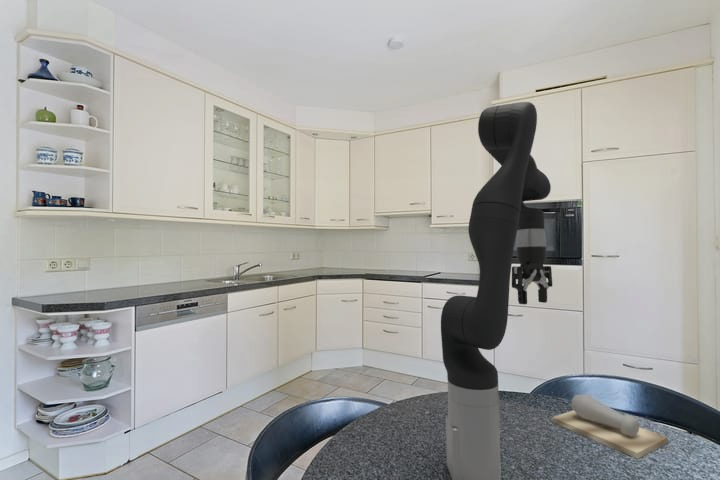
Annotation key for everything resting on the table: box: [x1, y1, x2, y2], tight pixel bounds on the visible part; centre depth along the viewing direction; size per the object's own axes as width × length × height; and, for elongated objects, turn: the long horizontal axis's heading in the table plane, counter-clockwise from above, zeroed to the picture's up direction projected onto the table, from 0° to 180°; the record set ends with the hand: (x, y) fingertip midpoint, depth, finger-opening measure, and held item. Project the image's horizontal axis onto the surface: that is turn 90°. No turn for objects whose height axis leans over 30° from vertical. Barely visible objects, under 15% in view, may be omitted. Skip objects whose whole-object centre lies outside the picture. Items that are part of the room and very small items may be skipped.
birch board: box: [552, 409, 669, 460], centre depth 81 cm, size 18×13×1 cm
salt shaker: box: [571, 394, 640, 437], centre depth 82 cm, size 6×6×13 cm
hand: (533, 303), depth 97 cm, fingers open, 8 cm apart
